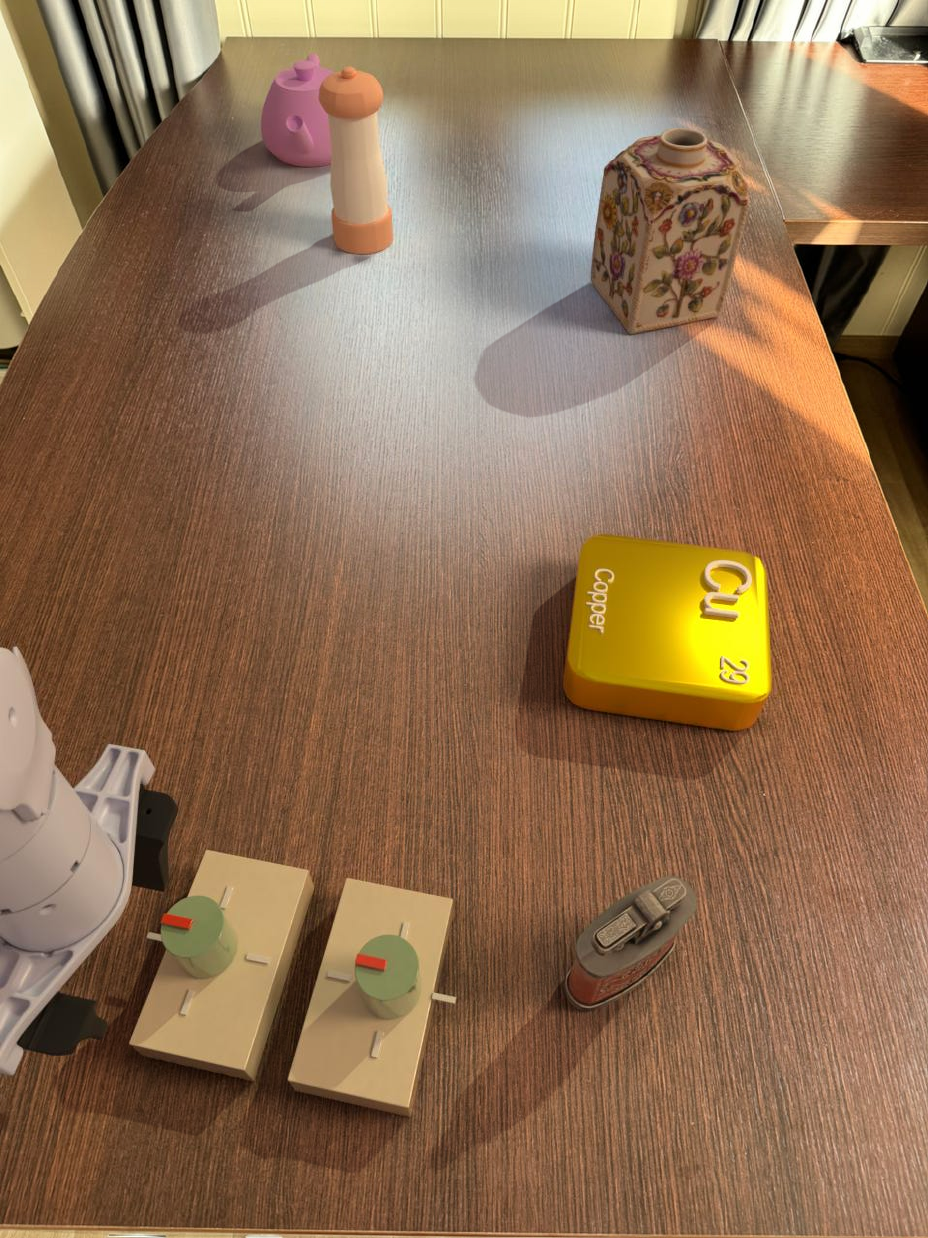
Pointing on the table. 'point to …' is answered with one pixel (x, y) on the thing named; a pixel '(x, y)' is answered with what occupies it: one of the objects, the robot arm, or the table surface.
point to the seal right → (388, 976)
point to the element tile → (669, 632)
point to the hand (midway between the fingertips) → (119, 952)
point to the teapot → (297, 116)
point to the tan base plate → (229, 971)
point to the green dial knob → (199, 936)
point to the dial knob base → (341, 1023)
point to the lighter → (628, 942)
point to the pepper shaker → (356, 162)
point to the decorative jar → (668, 230)
